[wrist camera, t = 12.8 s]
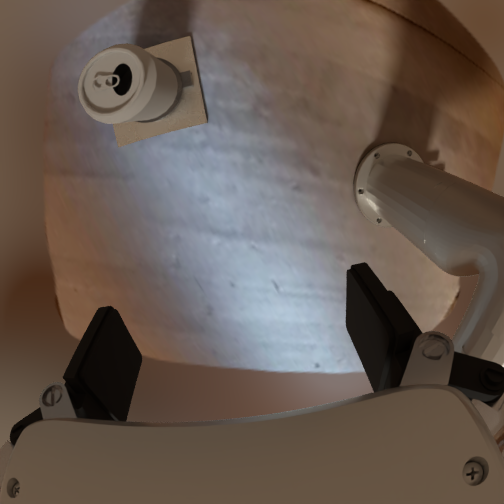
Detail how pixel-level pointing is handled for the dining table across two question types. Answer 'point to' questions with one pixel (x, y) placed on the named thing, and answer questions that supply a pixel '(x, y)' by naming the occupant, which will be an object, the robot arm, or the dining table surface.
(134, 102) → the can
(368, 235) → the dining table surface
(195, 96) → the white flat square plate
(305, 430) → the robot arm
